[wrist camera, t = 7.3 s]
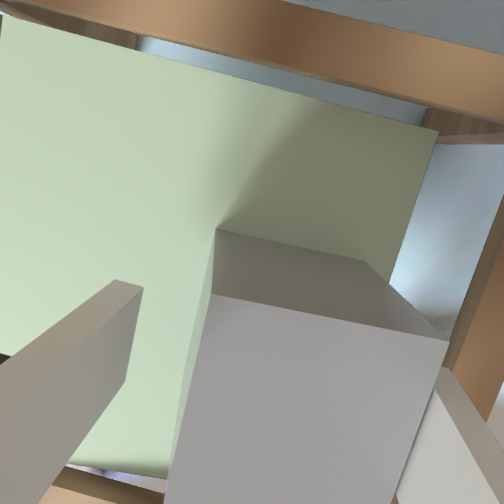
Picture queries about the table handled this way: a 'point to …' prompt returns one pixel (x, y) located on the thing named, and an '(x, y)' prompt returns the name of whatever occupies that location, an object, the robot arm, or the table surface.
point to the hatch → (171, 201)
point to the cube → (298, 380)
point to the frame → (341, 72)
